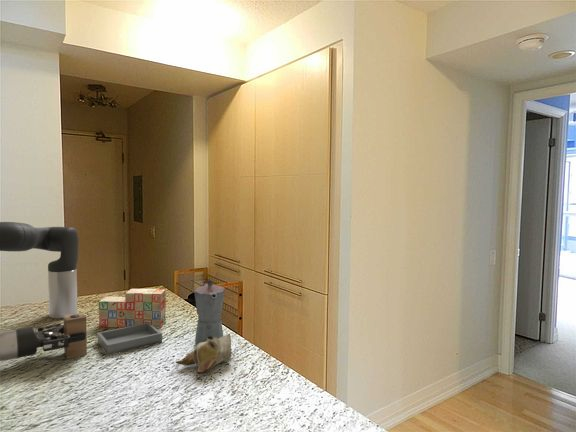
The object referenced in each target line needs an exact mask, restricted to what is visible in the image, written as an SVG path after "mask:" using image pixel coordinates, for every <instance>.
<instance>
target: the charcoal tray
mask: <svg viewBox="0 0 576 432" xmlns="http://www.w3.org/2000/svg"><path fill="white" fill-rule="evenodd" d="M96 339H97V344H98V343H99V344H98V345H99V346H100V348H101V349H102V351H103V352H104V353H105V354H106V355H107V356H111V355H116V354H119V352H120V353H124V352H127V351H128V350H129V351H133V350H137V349H140V348H141V349H142V348H145V347H149V346H154V345H158V344H163V333H162V332H161V331H160V330H159V329H158V328H155V327H154V326H152V325H151V324H150V323H144V324H139V325H134V326H129V327H118V328H114V329H111V330H110V329H109V330H104V331H100V332H97V338H96ZM132 349H133V350H132Z"/></svg>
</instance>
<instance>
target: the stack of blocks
mask: <svg viewBox="0 0 576 432" xmlns="http://www.w3.org/2000/svg"><path fill="white" fill-rule="evenodd" d="M166 292H167V291H166V289H158V288H130V289H129V290H127V291H126V292H125V295H124V296H105V297H103V298H102V299H101V300H99V301H98V310H99V311H98V318H99V319H98V324H99V328H124V327H129V326H134V325H139V324H144V323H150V324H151V325H152V326H154V327H155V328H156V329H161V328H162V327H163V325H164V324H165V323H166V308H167V306H166V305H167V302H166V301H167V299H166V298H167V297H166V295H167V293H166Z"/></svg>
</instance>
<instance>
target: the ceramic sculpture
mask: <svg viewBox="0 0 576 432" xmlns="http://www.w3.org/2000/svg"><path fill="white" fill-rule="evenodd" d="M231 337H232V336H231V334H230V333H228V334H225V335H223V336H222V337H220V338H219V339H217V338H216V337H213V336H208V338H207V340H205V341H202V342H201V343H198V344H197V345H196V344H195V345H196V346H195V347H194V349H193V351H191V352H189V353H187V354H186V356H184V357H183V358H182V359H181V360H177V361H176V362H175V363H176V364H177V365H182V366H192V365H194V364H195V366H197V369H196V372H195V374H196V375H206V374H208V373H210V372H211V371H212V370H213V369H214V367H215V366H217V365H218V364H219V363H222V362H225V363H228V362H230V360H231V358H232V352H233V351H232V338H231Z"/></svg>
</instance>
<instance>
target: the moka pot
mask: <svg viewBox="0 0 576 432" xmlns="http://www.w3.org/2000/svg"><path fill="white" fill-rule="evenodd" d="M225 293H226V288H225V287H223V286H220V285H213V280H208V281H204V283H203V285H202V286H199V287H196V289H194V299H195V308H196V314H197V319H198V320H197V322H196V323H197V325H196V331H195V332H196V333H195V337H194V338H195V339H194V343H195V345H197V344H198V343H201V342H202V341H205V340H207V338H208V336H213V337H216V338H217V339H219V338H220V337H222V336H224V329H223V324H222V313H223V312H222V311H223V306H224V301H225Z"/></svg>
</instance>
